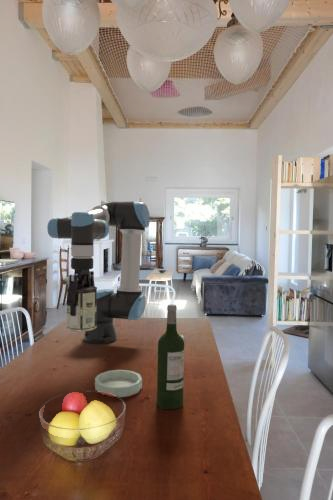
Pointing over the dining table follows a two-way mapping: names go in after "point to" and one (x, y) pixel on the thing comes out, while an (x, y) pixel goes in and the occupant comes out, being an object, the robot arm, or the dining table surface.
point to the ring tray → (119, 382)
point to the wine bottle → (170, 365)
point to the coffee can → (84, 310)
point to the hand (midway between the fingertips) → (81, 321)
